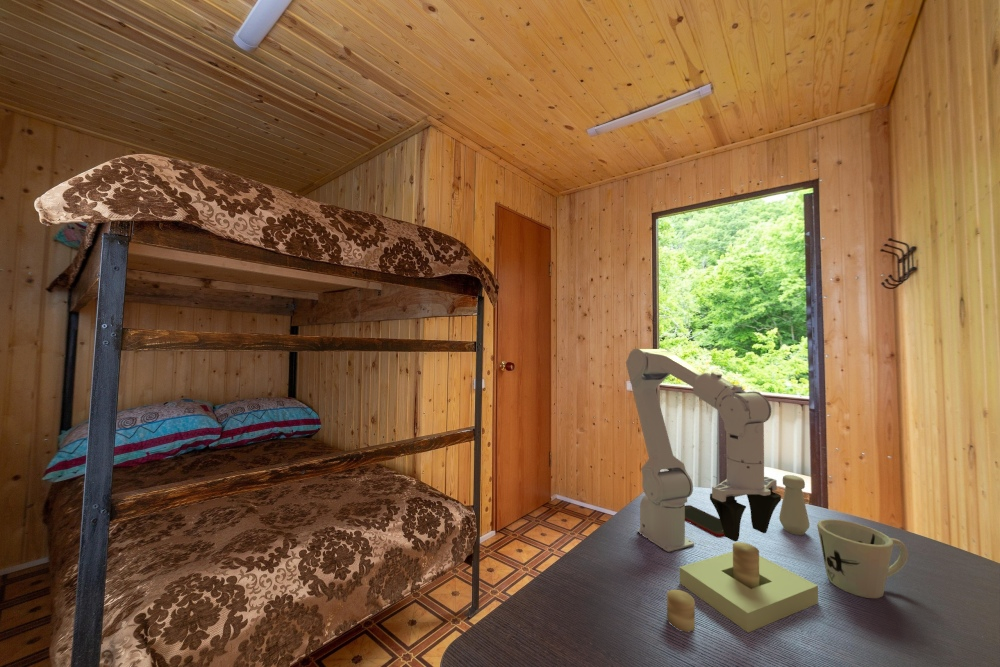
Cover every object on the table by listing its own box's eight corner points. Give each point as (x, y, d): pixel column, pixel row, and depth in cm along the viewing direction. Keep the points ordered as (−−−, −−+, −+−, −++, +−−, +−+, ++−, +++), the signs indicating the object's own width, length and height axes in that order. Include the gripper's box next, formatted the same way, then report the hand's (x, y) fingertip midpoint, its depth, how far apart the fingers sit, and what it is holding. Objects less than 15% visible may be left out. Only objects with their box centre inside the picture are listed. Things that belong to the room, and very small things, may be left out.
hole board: (679, 583, 71) (679, 567, 71) (744, 562, 78) (744, 547, 78) (748, 632, 59) (747, 613, 59) (818, 603, 66) (817, 585, 66)
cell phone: (689, 508, 104) (689, 504, 104) (741, 532, 91) (741, 528, 91) (668, 512, 101) (668, 509, 101) (718, 539, 88) (718, 535, 88)
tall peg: (728, 589, 69) (727, 545, 69) (741, 583, 71) (741, 540, 71) (750, 603, 65) (750, 556, 66) (764, 596, 67) (764, 551, 67)
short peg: (661, 617, 62) (661, 593, 62) (679, 611, 63) (679, 587, 64) (681, 635, 58) (681, 609, 58) (700, 628, 60) (700, 602, 60)
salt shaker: (815, 538, 87) (814, 482, 88) (787, 535, 89) (786, 480, 89) (800, 526, 93) (800, 473, 93) (774, 524, 94) (774, 471, 95)
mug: (804, 568, 76) (803, 517, 76) (880, 570, 75) (879, 519, 76) (850, 604, 65) (849, 545, 66) (939, 606, 65) (938, 547, 65)
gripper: (738, 470, 62) (739, 554, 62) (794, 460, 68) (795, 537, 67) (701, 458, 69) (702, 533, 69) (754, 450, 74) (755, 520, 74)
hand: (745, 534), depth 68 cm, fingers open, 7 cm apart
